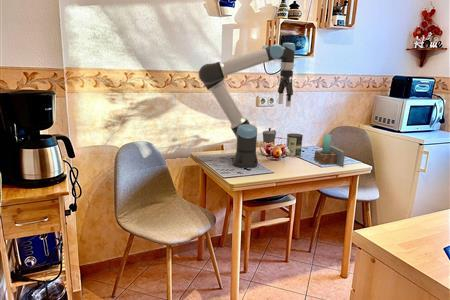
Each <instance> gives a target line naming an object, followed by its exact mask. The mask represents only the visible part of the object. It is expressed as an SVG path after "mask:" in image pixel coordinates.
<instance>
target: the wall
mask: <svg viewBox="0 0 450 300" xmlns="http://www.w3.org/2000/svg"><path fill="white" fill-rule="evenodd" d="M330 151H331V152H333V153H335V154H336V155H337V159H336V164H335V165H337V166H339V167H344V166H345V165H344V163H345V158H346V157H345V156H346V151H344V150H342V149H341V148H340V149H339V148H338V147H336V146H333V145H332V144H330Z"/></svg>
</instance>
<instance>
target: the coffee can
mask: <svg viewBox="0 0 450 300" xmlns="http://www.w3.org/2000/svg"><path fill="white" fill-rule="evenodd" d="M303 136H304V135H303V134H300V133H287V135H286V146H287V147H288V149H289V151H290V153H289V156H288V157H291V158H300V157H301V155H302V148H303V147H302V146H303Z"/></svg>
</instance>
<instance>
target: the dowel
mask: <svg viewBox="0 0 450 300" xmlns="http://www.w3.org/2000/svg"><path fill="white" fill-rule="evenodd" d="M322 139H323V141H322V149H321V151H322V153H323V154H329V153H330V145H332V144H331V140H332V134H328V133H326V134H325V133H324V134H323V138H322Z"/></svg>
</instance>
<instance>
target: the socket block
mask: <svg viewBox="0 0 450 300" xmlns="http://www.w3.org/2000/svg"><path fill="white" fill-rule="evenodd" d="M313 158H314V159H313V160H314V161H315V162H317V163H318V162H319V163H318V164H320V165H337V164H336V159H337V155H336V154H335V153H333V152H331V151H330V153H329V154H323V153H322V150H315V151H314V157H313Z"/></svg>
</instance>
